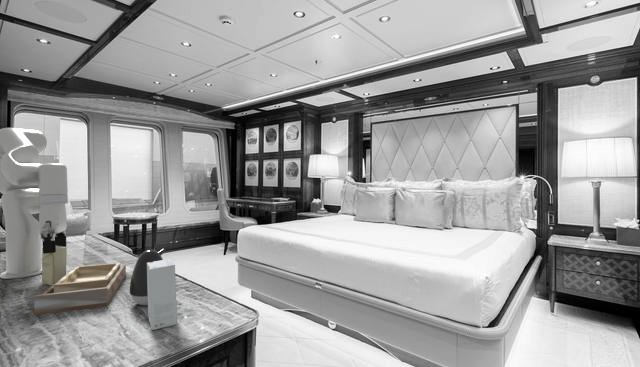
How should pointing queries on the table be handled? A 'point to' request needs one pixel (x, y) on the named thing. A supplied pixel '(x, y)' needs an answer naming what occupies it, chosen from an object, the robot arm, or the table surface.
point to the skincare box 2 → (161, 294)
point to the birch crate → (87, 277)
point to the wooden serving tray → (77, 297)
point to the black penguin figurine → (142, 276)
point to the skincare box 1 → (54, 265)
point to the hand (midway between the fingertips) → (55, 250)
